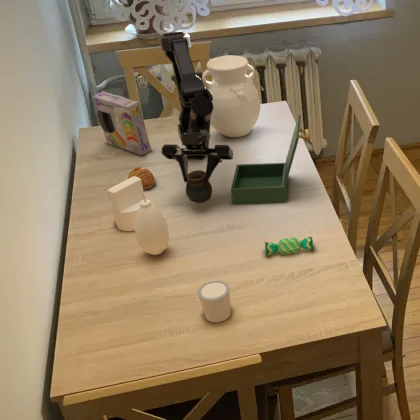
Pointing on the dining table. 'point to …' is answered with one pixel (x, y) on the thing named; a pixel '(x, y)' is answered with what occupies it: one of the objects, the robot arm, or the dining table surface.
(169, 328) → the dining table surface
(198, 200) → the mate gourd
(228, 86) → the cream handled vase
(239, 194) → the green open box
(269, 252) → the candy
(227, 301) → the white cylinder
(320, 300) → the dining table surface
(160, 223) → the bulb air blower
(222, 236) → the dining table surface
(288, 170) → the green box lid
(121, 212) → the base with upright slab
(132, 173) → the pastry
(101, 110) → the cake pan box
